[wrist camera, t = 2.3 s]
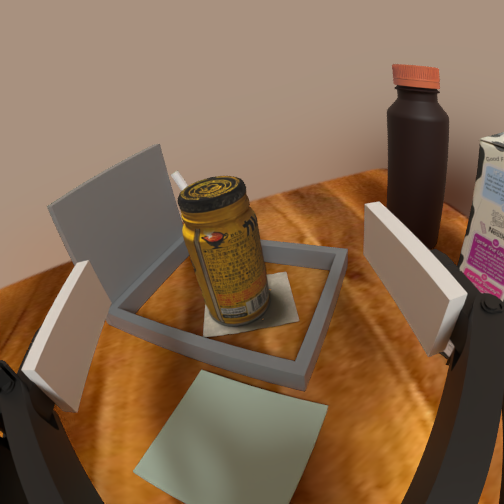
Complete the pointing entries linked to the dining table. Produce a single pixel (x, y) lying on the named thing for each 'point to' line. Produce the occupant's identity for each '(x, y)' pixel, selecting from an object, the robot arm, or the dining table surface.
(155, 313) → the dining table surface
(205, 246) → the condiment
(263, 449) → the pad
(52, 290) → the dining table surface
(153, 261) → the grey holder frame
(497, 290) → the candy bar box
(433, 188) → the bottle
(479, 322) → the robot arm
